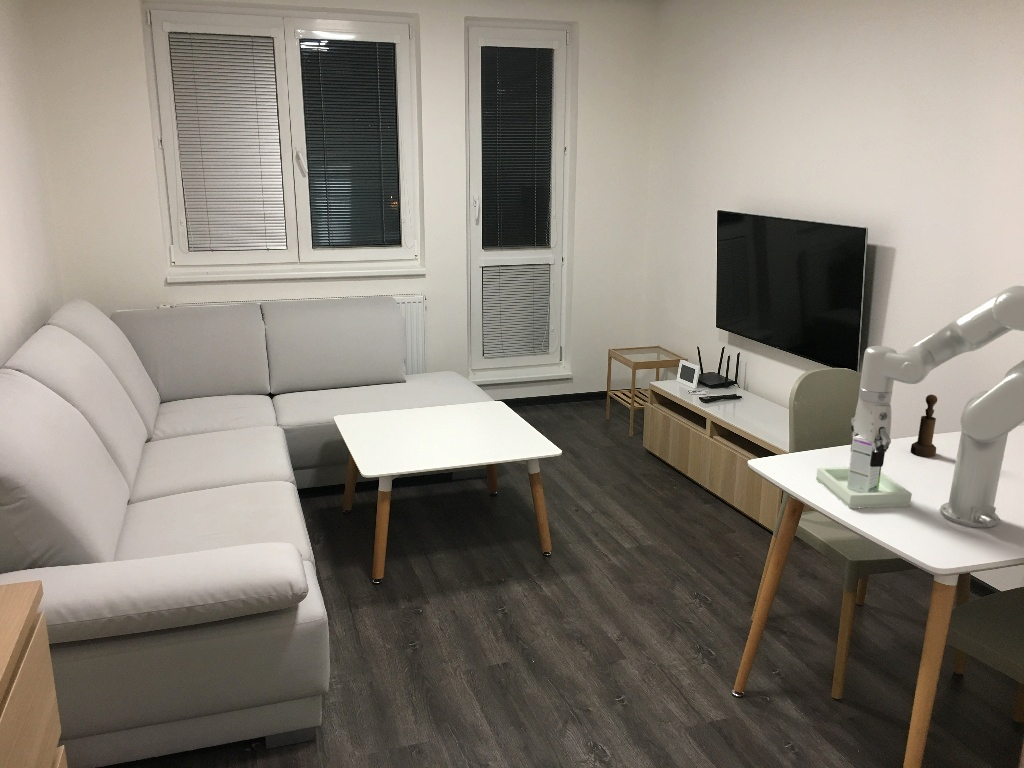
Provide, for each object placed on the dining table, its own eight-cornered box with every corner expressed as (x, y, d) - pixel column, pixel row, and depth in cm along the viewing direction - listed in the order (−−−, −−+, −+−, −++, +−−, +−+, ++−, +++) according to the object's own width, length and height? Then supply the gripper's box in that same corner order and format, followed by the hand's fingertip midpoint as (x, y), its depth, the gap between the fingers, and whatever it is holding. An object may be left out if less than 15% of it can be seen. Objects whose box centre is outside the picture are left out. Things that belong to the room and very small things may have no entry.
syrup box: (867, 495, 209) (874, 442, 205) (845, 488, 214) (852, 435, 210) (878, 490, 213) (886, 437, 209) (857, 482, 217) (864, 431, 213)
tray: (909, 506, 206) (911, 493, 205) (849, 508, 204) (850, 495, 203) (872, 478, 223) (874, 466, 222) (816, 480, 221) (817, 468, 220)
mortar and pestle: (930, 450, 245) (939, 392, 240) (938, 458, 238) (948, 398, 233) (907, 449, 245) (916, 391, 240) (915, 456, 239) (924, 397, 234)
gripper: (908, 405, 198) (898, 471, 203) (871, 385, 215) (862, 447, 220) (879, 406, 198) (869, 472, 202) (844, 386, 214) (836, 447, 219)
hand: (866, 459), depth 211 cm, fingers open, 9 cm apart
